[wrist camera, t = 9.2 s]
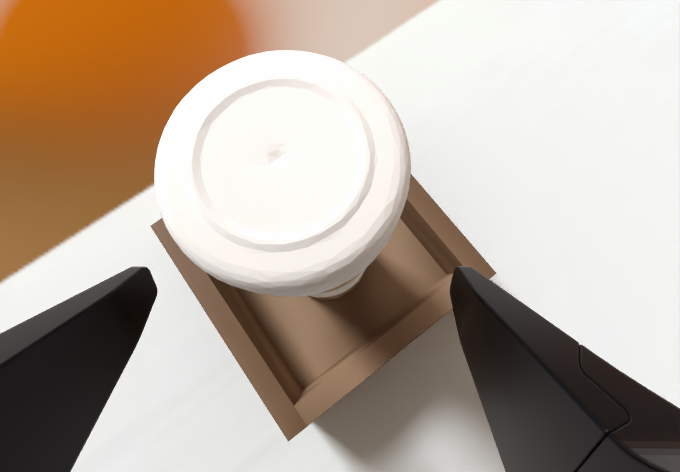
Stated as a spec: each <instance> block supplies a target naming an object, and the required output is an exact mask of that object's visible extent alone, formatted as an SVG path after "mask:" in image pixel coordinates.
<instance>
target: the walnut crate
mask: <svg viewBox="0 0 680 472" xmlns="http://www.w3.org/2000/svg"><path fill="white" fill-rule="evenodd" d="M151 228H152V229H153V231H154V232H155V234H156V235H157V237H158V239H159V240H160V242H161V243H162V245H163V246H164V248H165V249H166V251H167V253H168V254H169V256H170V257H171V259H172V260H173V262H174V264H175V265H176V267H177V268H178V270H179V271H180V273H181V274H182V276H183V278H184V279H185V281H186V282H187V284H188V285H189V287H190V289H191V290H192V292H193V293H194V295H195V296H196V298H197V299H198V301H199V303H200V304H201V306H202V307H203V309H204V310H205V312H206V314H207V315H208V317H209V318H210V320H211V321H212V323H213V324H214V326H215V328H216V329H217V331H218V332H219V334H220V335H221V337H222V338H223V340H224V342H225V343H226V345H227V346H228V348H229V349H230V351H231V353H232V354H233V356H234V357H235V359H236V360H237V362H238V363H239V365H240V367H241V368H242V370H243V371H244V373H245V374H246V376H247V378H248V379H249V381H250V382H251V384H252V385H253V387H254V388H255V390H256V392H257V393H258V395H259V396H260V398H261V399H262V401H263V403H264V404H265V406H266V407H267V409H268V410H269V412H270V413H271V415H272V417H273V418H274V420H275V421H276V423H277V424H278V426H279V427H280V429H281V431H282V432H283V434H284V435H285V437H286V438H287V440H288V441H290V440H291V439H292V438H293V437H295V436H296V435H297V434H298V433H299V432H301V431H302V430H303V429H304V428H306V427H307V426H308V425H309V424H311V423H312V422H313V421H314V420H316V419H317V418H318V417H319V416H321V415H322V414H323V413H324V412H325V411H327V410H328V409H329V408H330V407H332V406H333V405H334V404H335V403H337V402H338V401H339V400H340V399H342V398H343V397H344V396H345V395H346V394H348V393H349V392H350V391H351V390H353V389H354V388H355V387H356V386H358V385H359V384H360V383H361V382H363V381H364V380H365V379H366V378H367V377H369V376H370V375H371V374H372V373H374V372H375V371H376V370H377V369H379V368H380V367H381V366H382V365H384V364H385V363H386V362H387V361H388V360H390V359H391V358H392V357H393V356H395V355H396V354H397V353H398V352H400V351H401V350H402V349H403V348H405V347H406V346H407V345H408V344H409V343H411V342H412V341H413V340H414V339H416V338H417V337H418V336H419V335H421V334H422V333H423V332H424V331H426V330H427V329H428V328H429V327H430V326H432V325H433V324H434V323H435V322H437V321H438V320H439V319H440V318H442V317H443V316H444V315H445V314H447V313H448V312H449V311H450V310H452V309H453V307H452V302H451V298H450V285H451V280H452V276H453V271H454V269H455V267H457V266H470V267H472V268H474V269H475V270H476V271H478V272H479V273H481V274H482V275H483V276H485V277H486V278H488V279H490V278H491V277H492V276H494V275H495V274H496V272H495V271H494V270H493V269H492V268H491V267H490V265H489V264H488V263H487V262H486V261H485V260H484V258H483V257H482V256H481V255H480V254H479V253H478V251H477V250H476V249H475V248H474V247H473V246H472V244H471V243H470V242H469V241H468V240H467V239H466V237H465V236H464V235H463V234H462V233H461V232H460V230H459V229H458V228H457V227H456V226H455V225H454V223H453V222H452V221H451V220H450V219H449V218H448V217H447V215H446V214H445V213H444V212H443V211H442V210H441V208H440V207H439V206H438V205H437V204H436V203H435V201H434V200H433V199H432V198H431V197H430V196H429V194H428V193H427V192H426V191H425V190H424V189H423V187H422V186H421V185H420V184H419V183H418V182H417V180H416V179H415V178H414V177H413V176H412V175H410V184H409V191H408V195H407V199H406V202H405V205H404V208H403V212H402V214H401V216H400V218H399V221H398V223H397V225H396V227H395V229H394V231H393V233H392V235H391V237H390V238H389V240H388V242H387V243H386V245H385V246H384V248H383V249H382V250H381V252H380V253H379V254H378V256H377V257H376V258H375V259H374V261H373V262H372V263H371V264H370V265H369V266H368V267H367V268H366V269H365V271H364V273H363V276H362V278H361V280H360V281H359V283H358V284H357V285H356V287H355V288H354V289H352V290H351V291H350V292H349V293H347V294H345V295H343V296H341V297H339V298H335V299H329V300H326V299H318V298H315V297H312V296H308V295H307V296H298V297H283V296H273V295H266V294H259V293H255V292H251V291H247V290H244V289H241V288H237V287H234V286H231V285H229V284H227V283H224V282H222V281H220V280H218V279H216V278H215V277H213V276H211V275H210V274H208V273H206V272H205V271H203V270H202V269H201V268H199V267H198V266H197V265H196V264H195V263H194V262H192V261H191V260H190V259H189V258H188V257H187V256H186V255H185V254H184V253H183V251H182V250H181V249H180V248H179V246H178V245H177V243H176V242H175V241H174V239H173V238H172V236H171V235H170V233H169V231H168V230H167V228H166V226H165V223H164V221H163V218H161V219H160V220H159V221H157V222H156V223H154V224H153V225H151Z"/></svg>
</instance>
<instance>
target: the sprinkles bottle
mask: <svg viewBox="0 0 680 472" xmlns="http://www.w3.org/2000/svg"><path fill="white" fill-rule="evenodd" d="M410 175H411V162H410V151H409V146H408V141H407V137H406V133H405V130H404V128H403V124H402V122H401V120H400V118H399V116H398V114H397V112H396V111H395V109H394V107H393V106H392V104H391V103H390V101H389V100H388V98H387V97H386V96H385V95H384V94H383V92H382V91H381V90H380V89H379V88H378V87H377V86H376V85H375V84H374V83H373V82H372V81H370V80H369V79H368V78H367V77H366V76H364V75H363V74H362V73H360V72H359V71H357V70H356V69H354V68H352V67H351V66H349V65H347V64H345V63H343V62H341V61H338V60H336V59H333V58H330V57H328V56H324V55H320V54H316V53H311V52H304V51H291V50H286V51H268V52H262V53H258V54H254V55H250V56H246V57H244V58H241V59H238V60H236V61H233V62H231V63H229V64H227V65H225V66H223V67H221V68H220V69H218V70H216V71H215V72H213V73H212V74H210V75H208V76H207V77H206V78H205V79H203V80H202V81H201V82H200V83H198V84H197V85H196V86H195V87H194V88H193V89H192V90H191V91H190V92H189V93H188V94H187V95H186V96H185V97H184V98H183V99H182V100H181V102H180V103H179V104H178V106H177V107H176V109H175V110H174V111H173V114H172V115H171V117H170V119H169V121H168V123H167V125H166V127H165V128H164V132H163V134H162V137H161V140H160V142H159V145H158V150H157V155H156V160H155V193H156V198H157V202H158V206H159V210H160V213H161V216H162V218H163V221H164V223H165V226H166V228H167V230H168V231H169V233H170V235H171V236H172V238H173V239H174V241H175V242H176V243H177V245H178V246H179V248H180V249H181V250H182V251H183V253H184V254H185V255H186V256H187V257H188V258H189V259H190V260H191V261H192V262H194V263H195V264H196V265H197V266H198V267H199V268H201V269H202V270H203V271H205V272H206V273H208V274H210V275H211V276H213V277H215V278H216V279H218V280H220V281H222V282H224V283H227V284H229V285H231V286H234V287H237V288H241V289H244V290H247V291H251V292H255V293H259V294H266V295H273V296H283V297H298V296H307V295H308V296H312V297H315V298H318V299H326V300H329V299H335V298H339V297H341V296H343V295H345V294H347V293H349V292H350V291H351V290H352V289H354V288H355V287H356V285H357V284H358V283H359V281H360V280H361V278H362V276H363V273H364V271H365V269H366V268H367V267H368V266H369V265H370V264H371V263H372V262H373V261H374V259H375V258H376V257H377V256H378V254H379V253H380V252H381V250H382V249H383V248H384V246H385V245H386V243H387V242H388V240H389V238H390V237H391V235H392V233H393V231H394V229H395V227H396V225H397V223H398V221H399V218H400V216H401V214H402V212H403V208H404V205H405V202H406V199H407V195H408V191H409V184H410Z"/></svg>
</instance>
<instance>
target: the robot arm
mask: <svg viewBox="0 0 680 472" xmlns="http://www.w3.org/2000/svg"><path fill="white" fill-rule="evenodd" d="M156 296H157V287H156V284H155V282H154V280H153V277H152V275H151V272H150V270H149V269H148V268H147V267H131V268H128V269H126V270H124V271H123V272H121V273H119V274H117V275H115V276H113V277H111V278H109V279H107V280H105V281H103V282H101V283H99V284H97V285H95V286H93V287H91V288H89V289H87V290H85V291H83V292H81V293H79V294H77V295H75V296H73V297H71V298H70V299H68V300H66V301H64V302H62V303H60V304H58V305H56V306H54V307H52V308H50V309H48V310H46V311H44V312H42V313H40V314H38V315H36V316H34V317H32V318H30V319H28V320H26V321H24V322H22V323H20V324H18V325H17V326H15V327H13V328H11V329H9V330H7V331H5V332H3V333H1V334H0V472H70V471H71V470H72V468H73V466H74V464H75V462H76V460H77V458H78V456H79V454H80V452H81V450H82V449H83V447H84V445H85V443H86V441H87V439H88V437H89V435H90V433H91V431H92V429H93V428H94V426H95V424H96V422H97V420H98V418H99V416H100V414H101V412H102V410H103V408H104V407H105V405H106V403H107V401H108V399H109V397H110V395H111V393H112V391H113V389H114V387H115V386H116V384H117V382H118V380H119V378H120V376H121V374H122V372H123V370H124V368H125V366H126V365H127V363H128V361H129V359H130V357H131V355H132V353H133V351H134V349H135V347H136V345H137V343H138V341H139V339H140V336H141V334H142V332H143V329H144V327H145V324H146V322H147V319H148V317H149V314H150V311H151V309H152V306H153V304H154V301H155V299H156ZM450 298H451V302H452V307H453V311H454V316H455V320H456V325H457V329H458V334H459V338H460V342H461V345H462V348H463V351H464V354H465V357H466V360H467V363H468V366H469V368H470V371H471V374H472V377H473V380H474V383H475V386H476V388H477V391H478V394H479V397H480V400H481V403H482V405H483V408H484V411H485V414H486V417H487V420H488V423H489V425H490V428H491V431H492V434H493V437H494V440H495V442H496V445H497V448H498V451H499V454H500V457H501V460H502V462H503V465H504V468H505V471H506V472H680V408H678V407H677V406H675V405H673V404H672V403H670V402H668V401H667V400H665V399H664V398H662V397H660V396H659V395H657V394H656V393H654V392H652V391H651V390H649V389H647V388H646V387H644V386H643V385H641V384H640V383H638V382H636V381H635V380H633V379H632V378H630V377H629V376H627V375H626V374H624V373H622V372H621V371H619V370H618V369H616V368H615V367H613V366H612V365H610V364H609V363H608V362H606V361H605V360H603V359H602V358H600V357H599V356H597V355H596V354H594V353H593V352H592V351H590V350H589V349H587V348H586V347H584V346H583V345H579V343H578V342H577V341H576V340H574V339H573V338H572V337H570V336H569V335H567V334H566V333H564V332H563V331H562V330H560V329H559V328H557V327H556V326H554V325H553V324H552V323H550V322H549V321H547V320H546V319H545V318H543V317H542V316H540V315H539V314H537V313H536V312H535V311H533V310H532V309H530V308H529V307H527V306H526V305H525V304H523V303H522V302H520V301H519V300H518V299H516V298H515V297H513V296H512V295H510V294H509V293H508V292H506V291H505V290H503V289H502V288H500V287H499V286H498V285H496V284H495V283H493V282H492V281H491V280H489V279H488V278H486V277H485V276H483V275H482V274H481V273H479V272H478V271H476V270H475V269H474V268H472V267H470V266H457V267H455V269H454V271H453V276H452V280H451V285H450Z"/></svg>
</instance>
